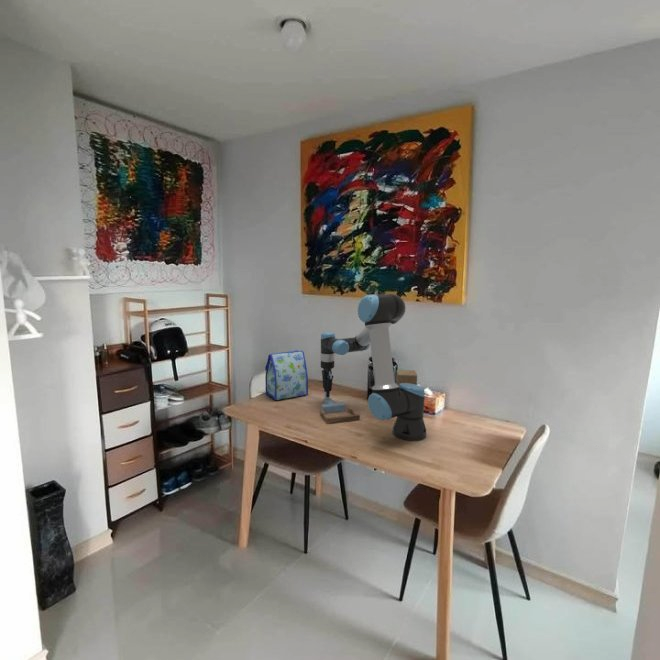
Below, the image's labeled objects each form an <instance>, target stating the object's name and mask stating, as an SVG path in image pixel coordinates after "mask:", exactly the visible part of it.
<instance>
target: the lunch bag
mask: <svg viewBox="0 0 660 660" xmlns="http://www.w3.org/2000/svg"><path fill="white" fill-rule="evenodd" d="M265 364H266V365H265V368H264V370H265V380H264V381H265V395H266V396H267V397H271V398H272V399H273V400H274V401H279V400H284V399H289V398H295V397H301V396H302V397H303V396H307V395H309V376H308V369H307V362H306V357H305V352H304V350H297V349H296V350H292V351H291V350H290V351H285V352H284V351H283V352H277V353H270V354H268V357H267V361H266V363H265Z"/></svg>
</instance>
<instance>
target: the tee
mask: <svg viewBox="0 0 660 660" xmlns="http://www.w3.org/2000/svg"><path fill="white" fill-rule="evenodd" d="M320 407H321V408H320V409H321V410H320V411H322V410H323V411H324V412H325V413H326V414H330V413H340V412H346V404H345V403H344V401H341V402H335V400H334V399H333V398H332V397H330V398H327V399H323V403H322V404H321V405H320Z"/></svg>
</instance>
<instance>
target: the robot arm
mask: <svg viewBox="0 0 660 660" xmlns="http://www.w3.org/2000/svg"><path fill="white" fill-rule="evenodd" d="M406 307H407V306H406V303H405V301H404V299H403V298H402V297H400V296H399V295H397V294H394V293H388V294H387V293H386V294H385V293H384V294H383V293H382V294H381V293H380V294H379V293H376V294H375V293H373V294H367V295H365V296H363V297H362V298H361V300H360V301H359V303H358V305H357V316H358V319H359V320H360V321H361V322H362V323H364V328H363V329H362V330H361V331H359V333H358V334H357V335H356V336H354V337H346V338H344V337H343V338H336V334H335V333H334V332H331V331H325V332H322V333H321V334H320V368H321V369H322V370H321V375H322V379H321V380H322V388H323V394H324V396H323V398H324V399H327V398H331V392H332V389H333V387H332V386H333V379H334V375H332V374H333V372H332V369H334V368H335V356H336V355H338V356H339V355H340V356H344V355H346V354H348V353H355V352H363V351H366V350H368V349H369V347H370V352H371V360H372V368H373V377H374V379H373V380H374V385H373V386H372V388H371V391H372V393H371V394H369V396H368V398H367V405H368V408H369V411H370V413H371V414H372V415H373V417H375V418H376V419H378V420H381V421H382V420H384V421H385V420H391V419H394V418H396V419H395V421H394V424H393V426H392V435H394V436H395V438H399V439H401V440H403V441H410V442H411V441H421V440H423V439H425V438H426V437H427V428H426V424H425V420H424V413H425V412H424V411H425V399H426V398H425V397H426V396H425V389H424V388H423V387H422V386H420V385H419V384H417V385H415V384H410V383H400V384H399V386H398V385H397V384H396V380H395V373H394V365H393V357H392V346H391V338H390V331H389V328H390V326H391V325H395V324H396V323H397V324H398V322H399V321H400V320H402V318H403V317H404V315H405V313H406ZM324 399H323V400H324Z"/></svg>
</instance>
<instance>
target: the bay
mask: <svg viewBox="0 0 660 660" xmlns="http://www.w3.org/2000/svg"><path fill="white" fill-rule="evenodd" d="M347 408H348V409H347V410H348V413H349V415H339V416H333V417H332V416H331V417H329V415H328V413H325V412H324V411H323V410H322V411H321V410H319V415H320V416H319V417H321V419H322V420H323V421H324V422H325V423H326V424H327V425H329V424H339V423H345V422H346V423H347V422H354V421H355V422H356V421H360V420H361V419H360V418H361V417H360V416H361V415H360V414H359V413H358V412H357V411H356V410H355V409H354V408H353V407H347Z"/></svg>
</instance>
